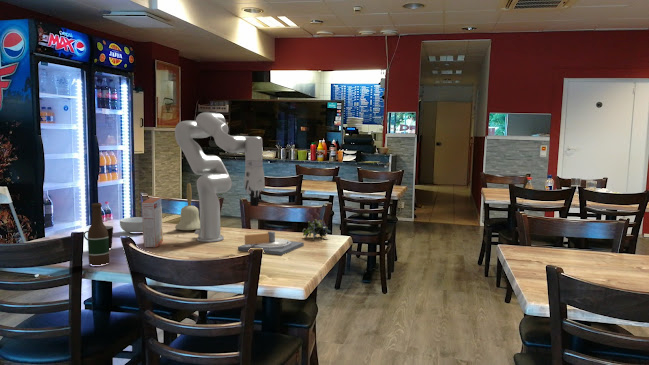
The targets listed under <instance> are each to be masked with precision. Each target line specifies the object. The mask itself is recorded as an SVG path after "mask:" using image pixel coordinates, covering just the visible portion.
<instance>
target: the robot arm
mask: <svg viewBox="0 0 649 365" xmlns="http://www.w3.org/2000/svg"><path fill="white" fill-rule="evenodd" d="M208 137H213V139H214V143H215V144H216V146H218V147H219V148H220V149H222V150H224V151H225V152H226V153H230V154H237V153H240V154H242V153H244V154H245V155H244V156H245V157H244V158H245V164H244V166H245V171H244V183H243V184H244V190H245V191H246V192H245V193H246V194H248V196H249V200H250V201H249V206H251V207H258V206H259V196H260V193H261V192H262V191H263V190H264V189H265V188H266V186H265V185H266V184H265V170H264V167H263V166H264V164H263V138H262V137H261V136H249V135H230V134H229V126H228V124H227V122H226V118H225V117H224V115H223V114H221V113H219V112H205V111H204V112H201V113H199V114H198V115H197V116H196V117H195V120H182V121H180V122H178V123H177V124H176V126H175V129H174V138H175V141H176V144H177V145H178V146H179V148H180V150H181V151H182V152H183V155H184V156H185V158H186V161H187V163H188V164H189V166H190V169H191V170H192V172H193V173H194V175H196V176H199V177H198V179H197V180H196V188H197V193H198V201H199V220H200V229H196V230H195V231H194V235H197V237H196V240H197V241H198V242H203V243H208V242H209V243H211V242H212V243H213V242H219V241H222V240H224V238H225V237H224V235H223V234H222V235H221V208H220V207H221V205H220V204H221V202H220V199H219V197H218V196H217V194H222V193H227V192H228V191H230V190H231V189H232V184H233V183H232V179H231V176H230V174H229V172H228V170H227V168H226V166H225V164H224V163H223V161H222V159H221V158H220V157H219V156H217V155H215V154H205V153H204V150H203V148H202V147H201V146H200V144H199V143H198V142H197V141H196V140H195V139H204V138H205V139H206V138H208Z"/></svg>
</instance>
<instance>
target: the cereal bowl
mask: <svg viewBox="0 0 649 365" xmlns="http://www.w3.org/2000/svg"><path fill="white" fill-rule="evenodd" d="M119 226H120V229H122V230H123V231H125V232H127V233H129V232H143V219H142V217H141V216H140V217H139V216H137V217H135V216H133V217H126V218H124V217H123V218H121V219H120V220H119Z"/></svg>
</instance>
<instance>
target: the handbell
mask: <svg viewBox="0 0 649 365" xmlns="http://www.w3.org/2000/svg"><path fill="white" fill-rule="evenodd" d="M192 192H193V191H192V185H191V183H187V184H186V200H187V205H185V206H182V208H181V210H180V220H179V222H178V223H177V224H176V225H175V226H174V227H175V229H176V230H180V231H193V230H195V231H196V230H200V210H199V208H198V207H196V206H195V205H192V200H193V199H192V197H193V196H192V195H193V194H192Z"/></svg>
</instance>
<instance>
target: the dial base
mask: <svg viewBox="0 0 649 365" xmlns="http://www.w3.org/2000/svg"><path fill="white" fill-rule="evenodd" d="M283 240H286V241H287V244H285V245H283V246H271V247H267V246H258V245H256V244H248V245H246V244H245V243H244V244H243V245H239V246H237V251H239V252H240V251H242V252H249V251H248V250H249V249H250V248H263V250H264V252H265V253H264V254H266V253H270V254H269V255H275V254H278V255H277V256H283V254H284V255H285V253H286V254H288V253H291V252H292V251H294V250H295V251H296V250H298V249H299V248H302V247H304V244H305V243H304V242H303V241H302V242H300V241H293V240H289V239H283ZM287 252H288V253H287Z"/></svg>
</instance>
